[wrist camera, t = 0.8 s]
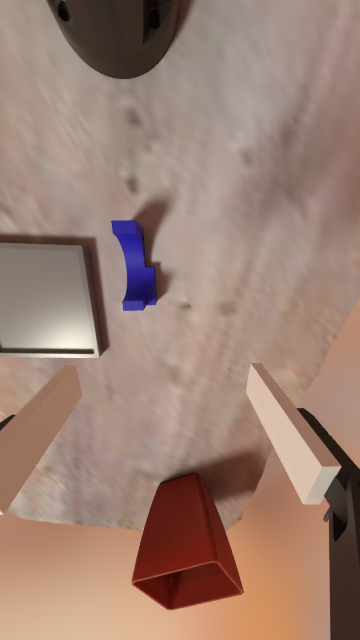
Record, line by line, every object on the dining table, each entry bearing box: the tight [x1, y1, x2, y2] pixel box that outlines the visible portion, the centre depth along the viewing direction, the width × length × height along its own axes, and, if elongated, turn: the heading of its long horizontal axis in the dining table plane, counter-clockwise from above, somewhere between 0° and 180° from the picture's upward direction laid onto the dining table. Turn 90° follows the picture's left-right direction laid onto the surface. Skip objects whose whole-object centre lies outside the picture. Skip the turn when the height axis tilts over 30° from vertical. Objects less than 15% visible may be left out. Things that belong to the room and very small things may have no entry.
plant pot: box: [132, 474, 244, 610], centre depth 44 cm, size 19×19×17 cm
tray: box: [0, 243, 103, 358], centre depth 30 cm, size 20×20×2 cm
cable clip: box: [111, 220, 157, 311], centre depth 26 cm, size 12×4×6 cm, turn 1°
